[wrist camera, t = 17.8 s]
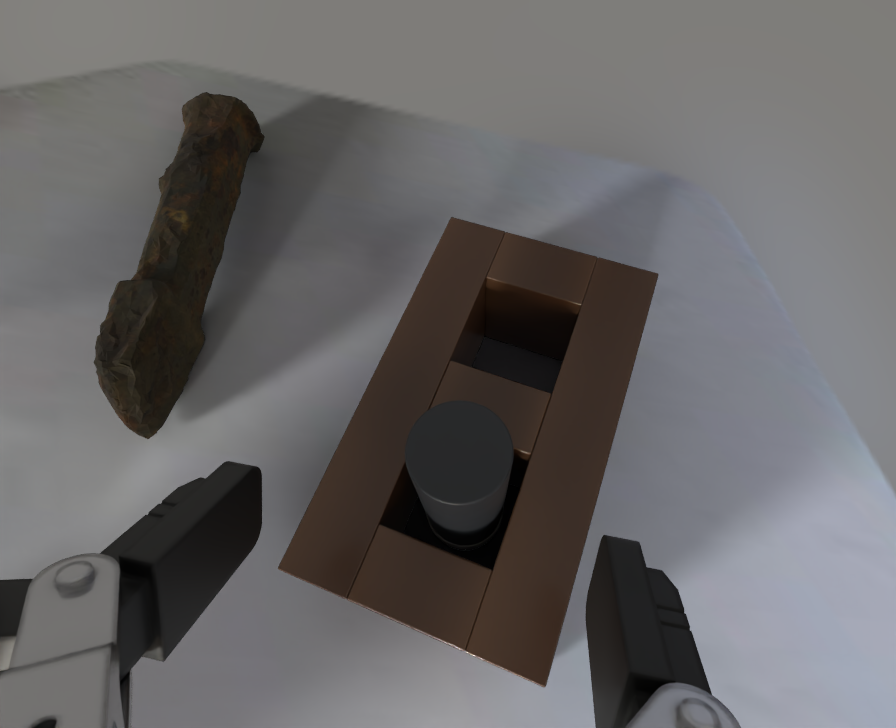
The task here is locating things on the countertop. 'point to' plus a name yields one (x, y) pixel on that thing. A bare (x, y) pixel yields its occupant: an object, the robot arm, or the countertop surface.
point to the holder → (532, 432)
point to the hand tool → (176, 266)
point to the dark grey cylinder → (460, 471)
